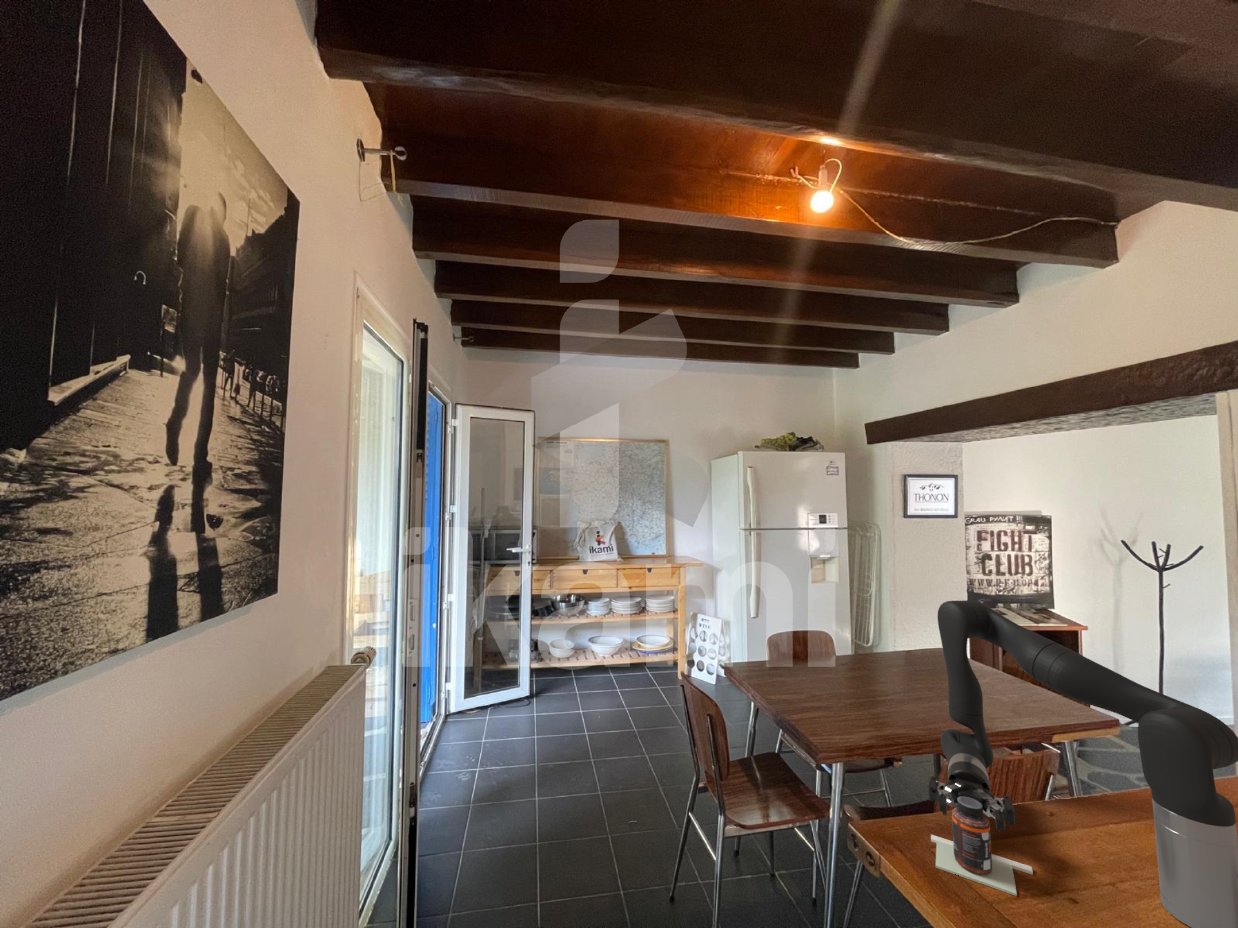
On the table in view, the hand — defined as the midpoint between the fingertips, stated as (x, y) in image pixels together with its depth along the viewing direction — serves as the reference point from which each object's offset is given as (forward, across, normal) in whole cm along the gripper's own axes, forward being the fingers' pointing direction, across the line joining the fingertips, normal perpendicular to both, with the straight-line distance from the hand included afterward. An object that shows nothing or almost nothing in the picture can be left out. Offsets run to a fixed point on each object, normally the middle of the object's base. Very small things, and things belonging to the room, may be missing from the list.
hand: (971, 817), depth 94 cm
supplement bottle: (+1, 0, +8) cm, 8 cm away
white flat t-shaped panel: (0, +1, +8) cm, 8 cm away
